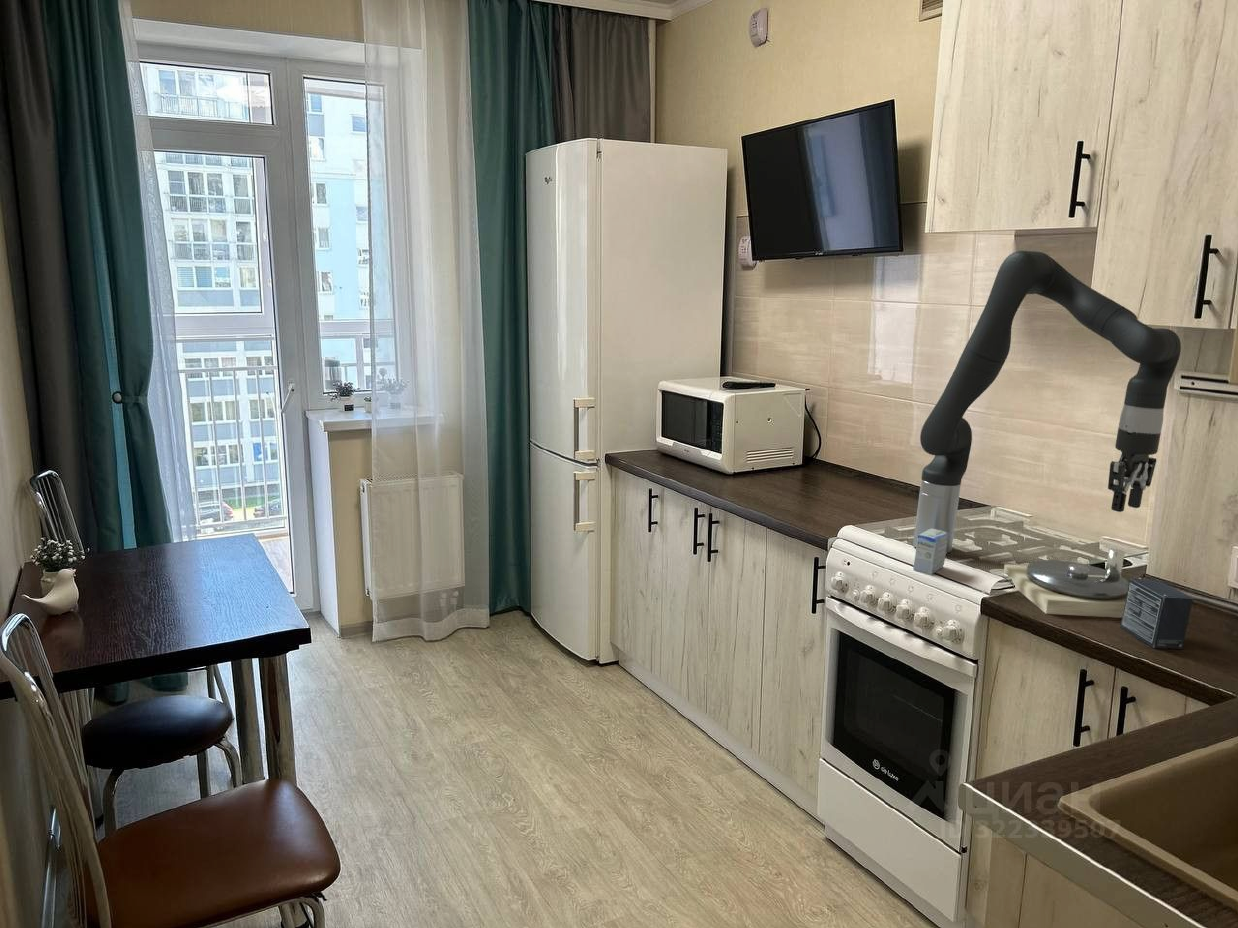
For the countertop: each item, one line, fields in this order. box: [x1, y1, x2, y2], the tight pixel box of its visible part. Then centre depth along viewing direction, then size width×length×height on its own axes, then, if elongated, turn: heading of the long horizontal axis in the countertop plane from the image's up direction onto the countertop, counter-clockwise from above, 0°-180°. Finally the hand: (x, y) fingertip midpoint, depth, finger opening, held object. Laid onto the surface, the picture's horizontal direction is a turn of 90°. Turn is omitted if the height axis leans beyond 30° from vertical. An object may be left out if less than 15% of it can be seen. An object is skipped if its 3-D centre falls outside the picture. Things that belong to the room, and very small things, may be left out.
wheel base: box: [1003, 564, 1127, 619], centre depth 196 cm, size 22×22×3 cm
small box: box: [1119, 577, 1194, 650], centre depth 175 cm, size 11×6×10 cm, turn 5°
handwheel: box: [1026, 548, 1129, 599], centre depth 195 cm, size 20×20×8 cm
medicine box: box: [913, 529, 948, 575], centre depth 209 cm, size 8×4×9 cm, turn 141°
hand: (1125, 508), depth 186 cm, fingers open, 6 cm apart
